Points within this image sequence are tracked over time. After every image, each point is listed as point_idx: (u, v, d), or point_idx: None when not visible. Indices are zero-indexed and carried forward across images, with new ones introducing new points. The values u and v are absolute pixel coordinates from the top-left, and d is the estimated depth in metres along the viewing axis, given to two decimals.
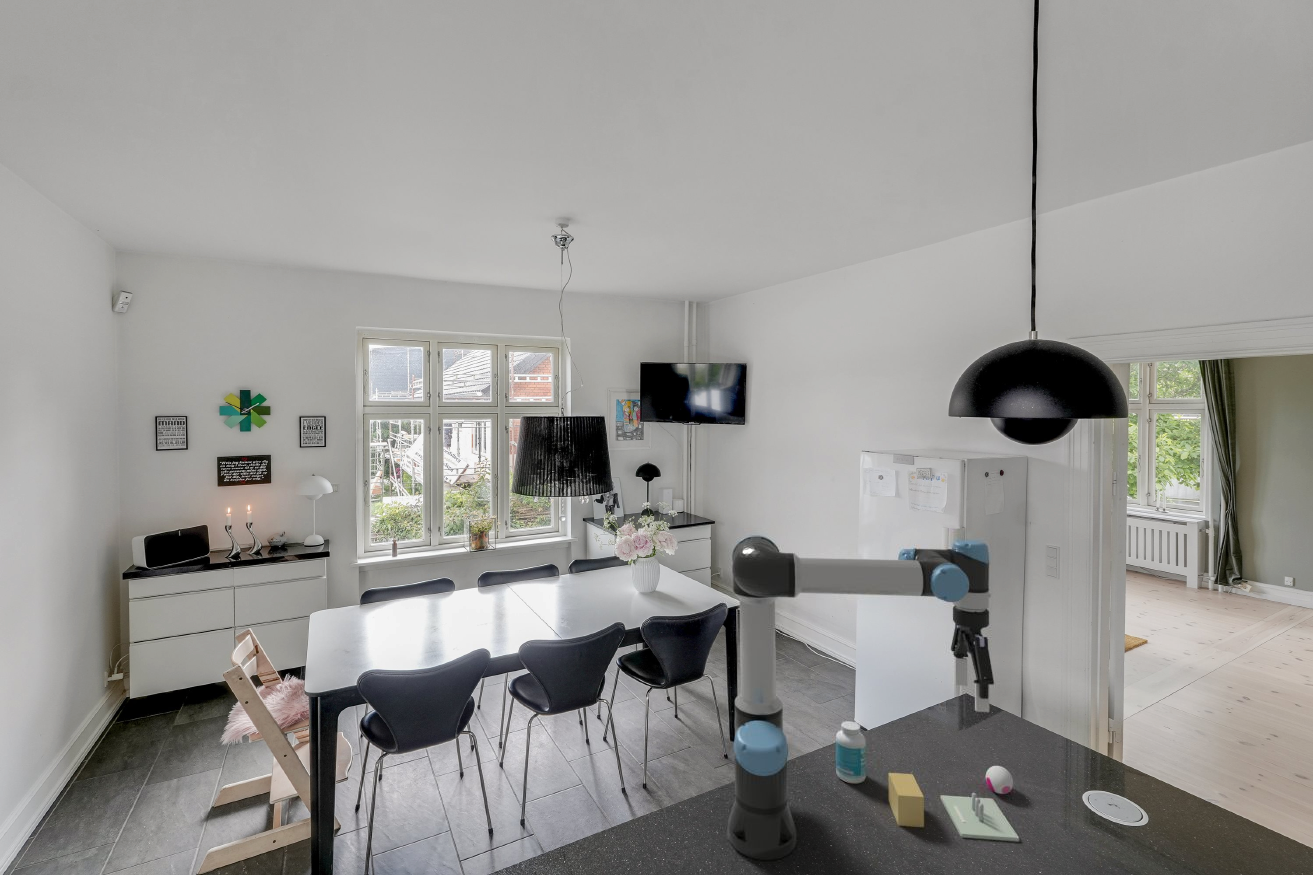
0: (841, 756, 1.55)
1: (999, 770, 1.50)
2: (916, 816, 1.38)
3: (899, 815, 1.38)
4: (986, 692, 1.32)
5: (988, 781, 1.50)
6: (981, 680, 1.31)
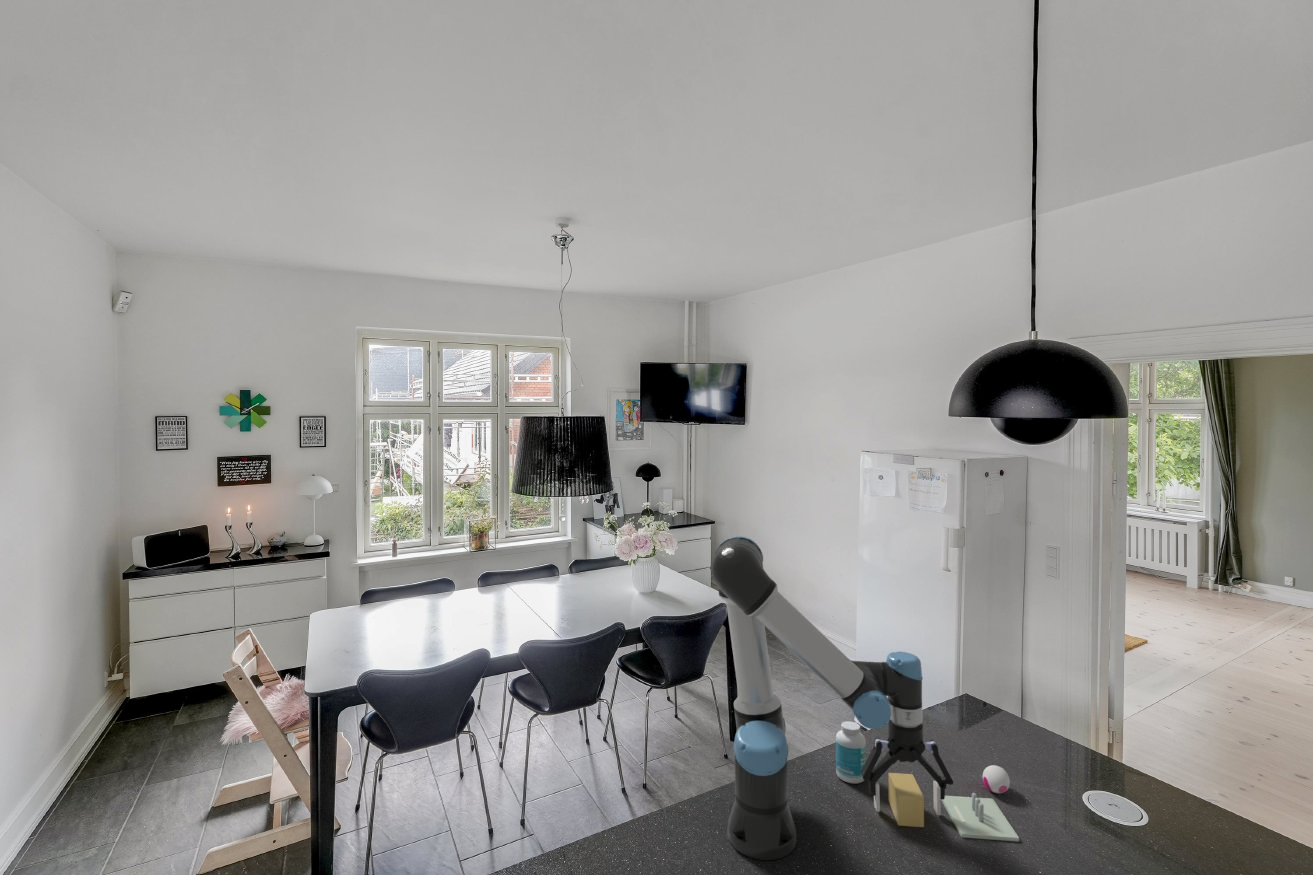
0: (841, 756, 1.55)
1: (996, 769, 1.50)
2: (916, 816, 1.38)
3: (899, 815, 1.38)
4: (870, 788, 1.43)
5: (985, 780, 1.50)
6: None
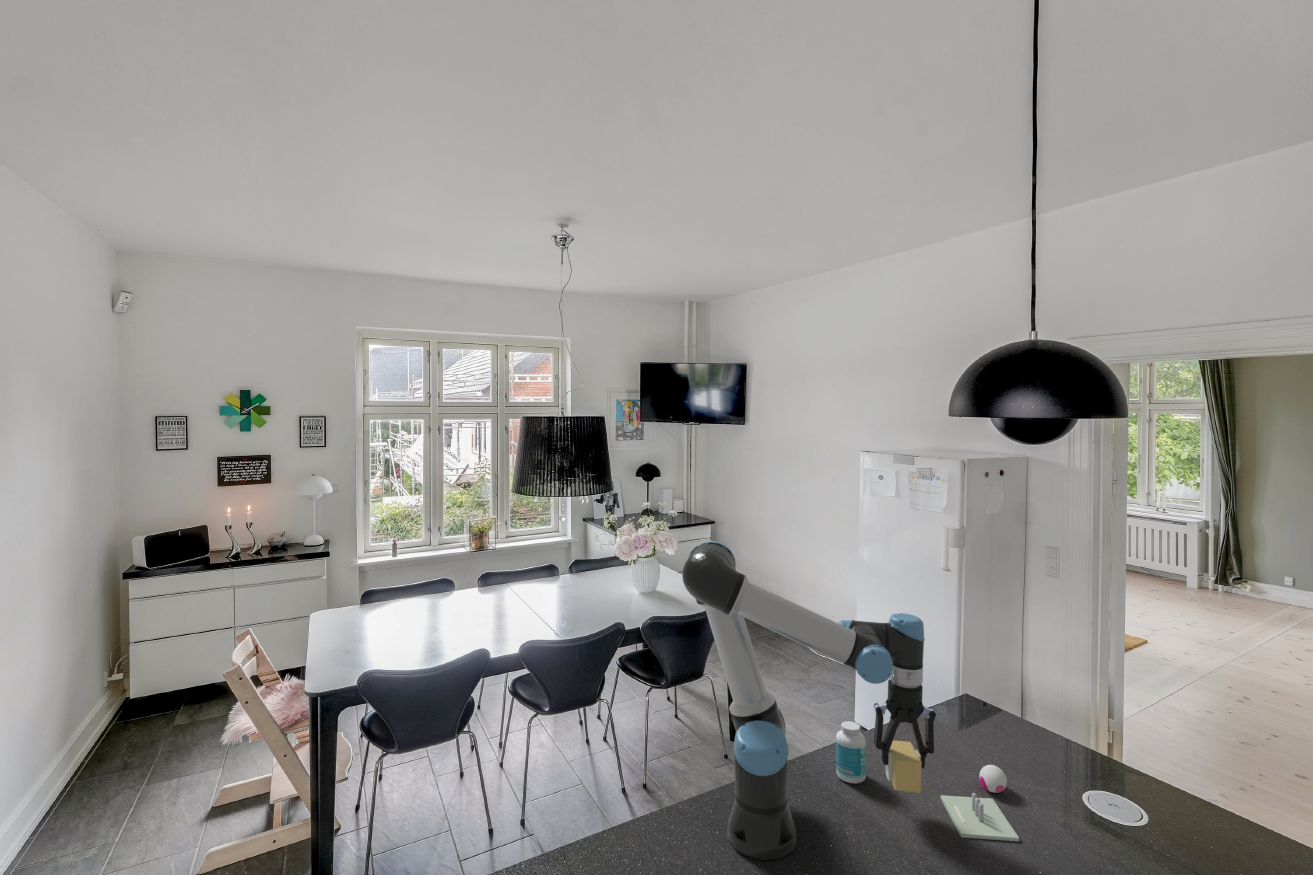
0: (841, 756, 1.55)
1: (993, 769, 1.50)
2: (913, 781, 1.37)
3: (896, 780, 1.38)
4: (882, 757, 1.42)
5: (982, 780, 1.50)
6: None
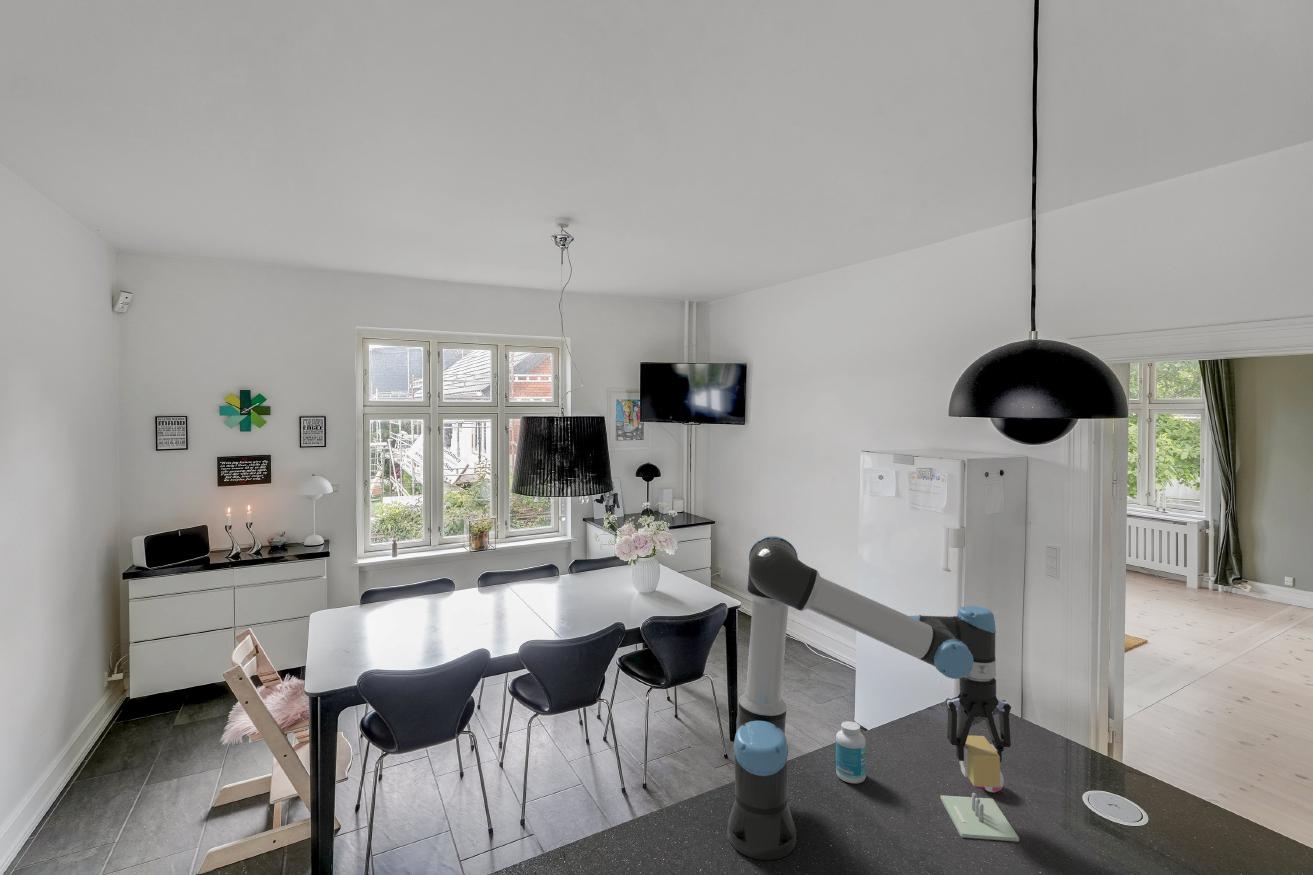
0: (841, 756, 1.55)
1: None
2: (992, 776, 1.35)
3: (974, 775, 1.36)
4: (957, 753, 1.40)
5: None
6: None
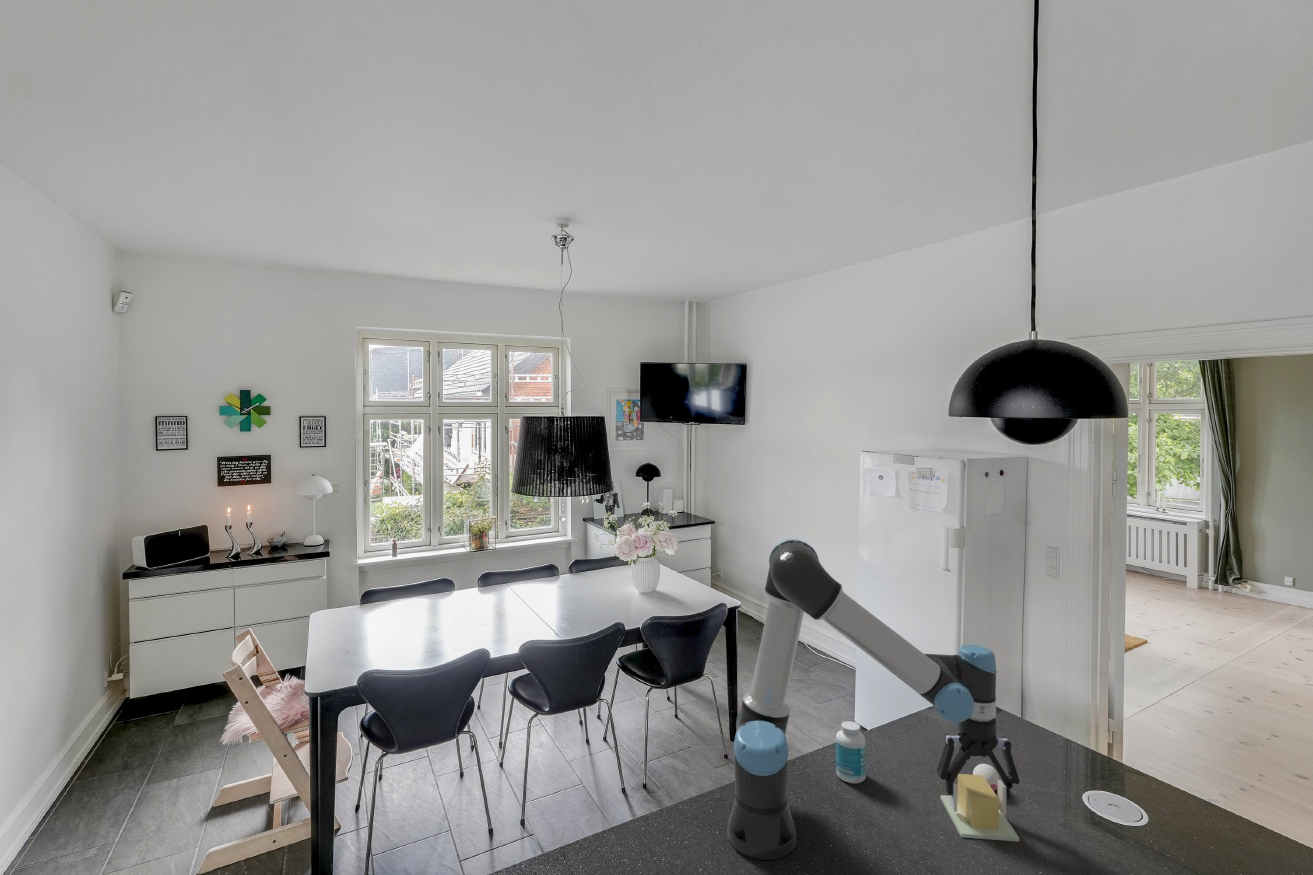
0: (841, 756, 1.55)
1: (986, 767, 1.51)
2: (991, 818, 1.35)
3: (973, 817, 1.36)
4: (947, 787, 1.40)
5: None
6: None
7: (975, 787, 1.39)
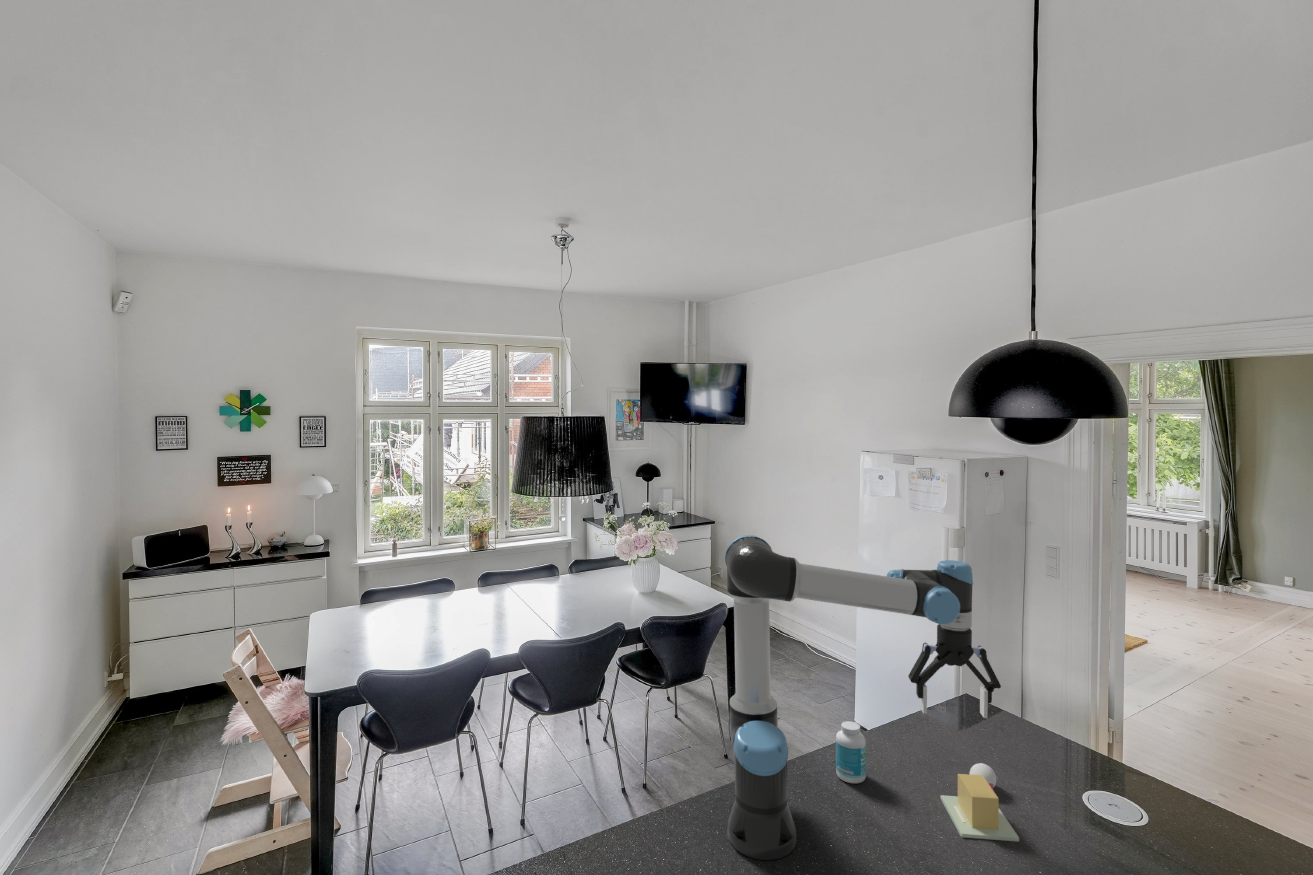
0: (841, 756, 1.55)
1: (982, 767, 1.51)
2: (991, 818, 1.35)
3: (973, 817, 1.36)
4: (917, 691, 1.46)
5: None
6: None
7: (975, 787, 1.39)
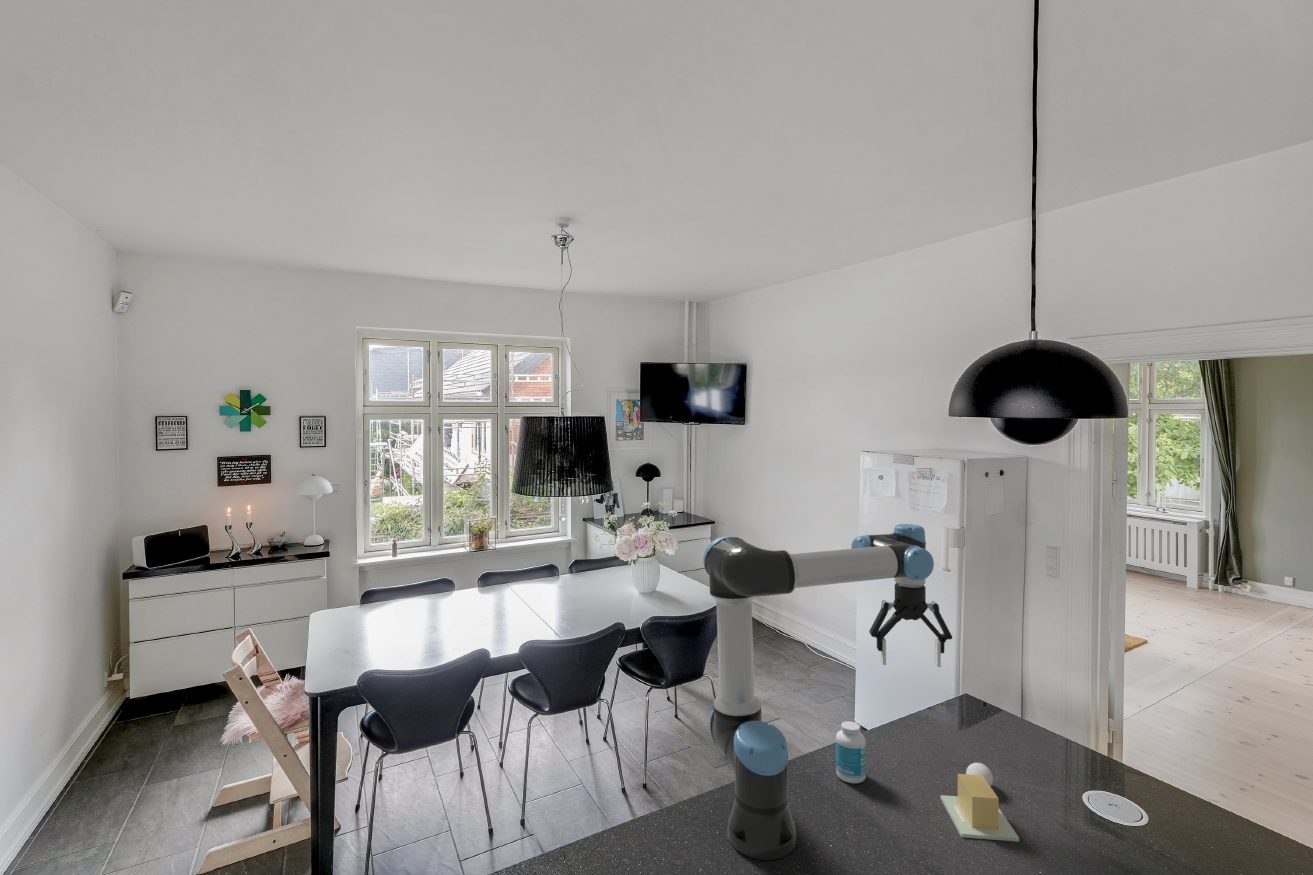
0: (841, 756, 1.55)
1: (979, 766, 1.51)
2: (991, 818, 1.35)
3: (973, 817, 1.36)
4: (877, 644, 1.59)
5: None
6: None
7: (975, 787, 1.39)
